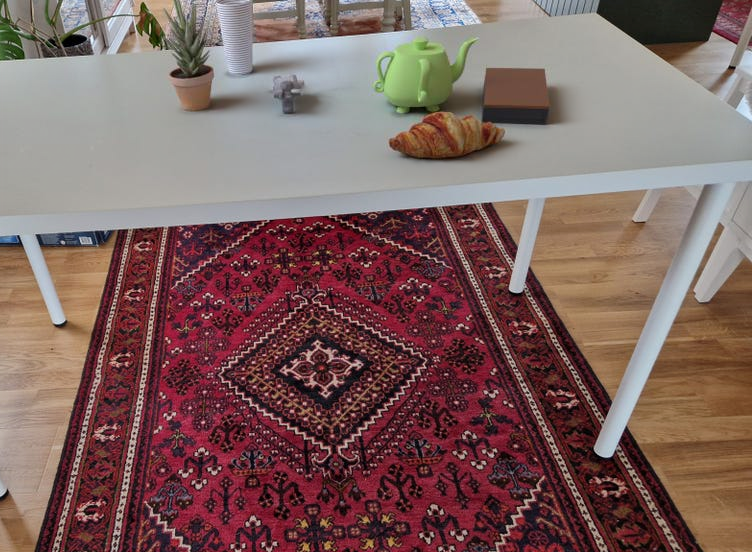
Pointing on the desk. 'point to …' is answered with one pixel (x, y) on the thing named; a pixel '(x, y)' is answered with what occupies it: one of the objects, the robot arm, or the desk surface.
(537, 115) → the small box
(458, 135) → the croissant
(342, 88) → the desk surface
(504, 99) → the cover
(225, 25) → the cup
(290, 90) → the figurine
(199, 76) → the potted plant
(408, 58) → the teapot
